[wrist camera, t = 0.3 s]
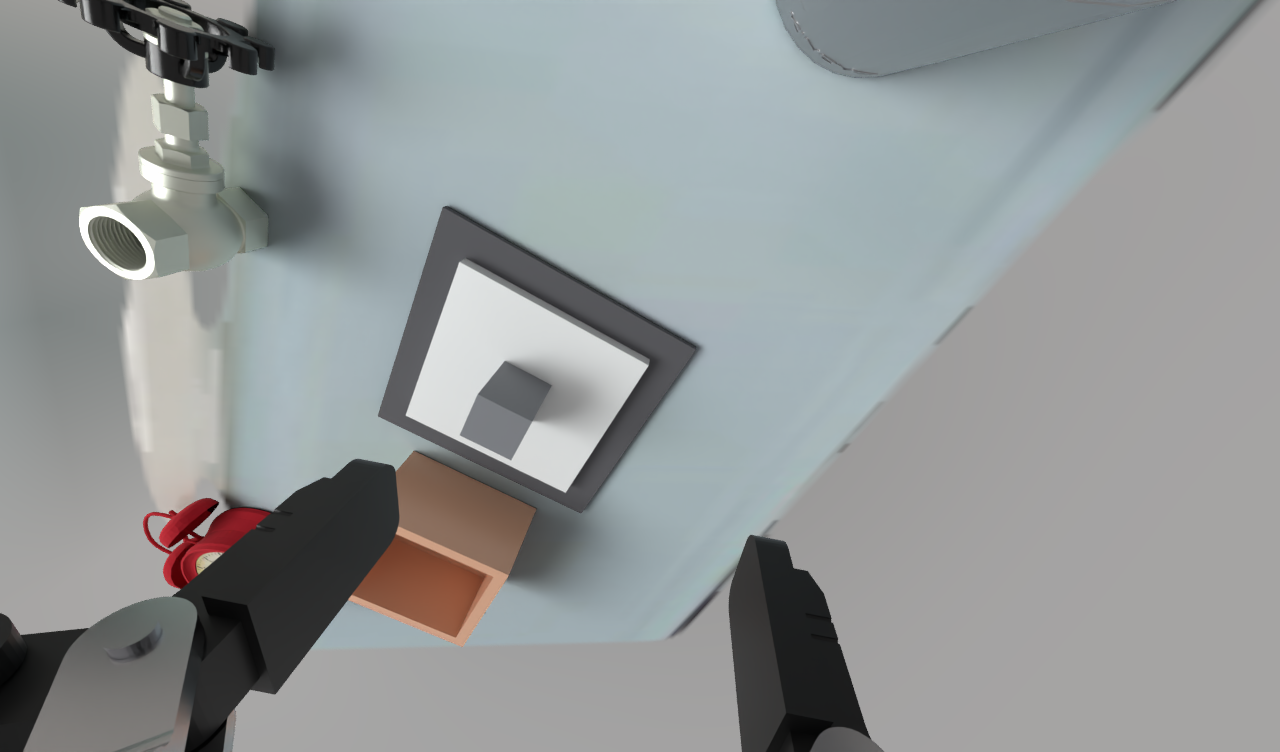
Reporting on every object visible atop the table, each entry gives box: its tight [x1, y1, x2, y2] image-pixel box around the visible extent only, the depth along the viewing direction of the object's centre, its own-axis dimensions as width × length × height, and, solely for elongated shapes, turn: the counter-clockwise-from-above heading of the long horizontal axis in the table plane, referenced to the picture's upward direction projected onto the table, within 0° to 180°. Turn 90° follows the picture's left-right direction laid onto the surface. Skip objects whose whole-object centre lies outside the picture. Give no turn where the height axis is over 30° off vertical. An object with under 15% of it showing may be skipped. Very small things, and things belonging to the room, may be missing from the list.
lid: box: [406, 258, 650, 493], centre depth 28 cm, size 12×12×5 cm
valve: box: [58, 0, 275, 280], centre depth 22 cm, size 7×7×12 cm
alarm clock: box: [143, 498, 270, 589], centre depth 39 cm, size 10×6×15 cm
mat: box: [378, 206, 696, 513], centre depth 30 cm, size 16×16×1 cm
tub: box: [348, 451, 536, 647], centre depth 34 cm, size 10×10×6 cm
